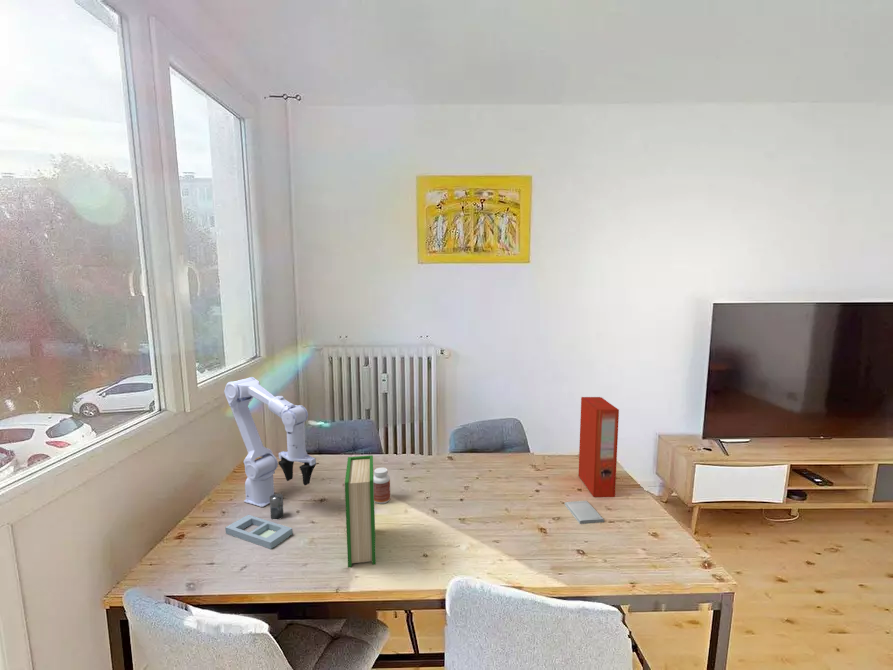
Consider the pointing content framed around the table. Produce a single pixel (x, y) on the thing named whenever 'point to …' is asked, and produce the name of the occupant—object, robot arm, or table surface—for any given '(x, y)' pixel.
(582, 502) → the hard drive
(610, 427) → the file binder
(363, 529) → the hardback book
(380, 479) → the pill bottle
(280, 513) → the peg
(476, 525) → the table surface
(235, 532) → the grey double-hole frame
